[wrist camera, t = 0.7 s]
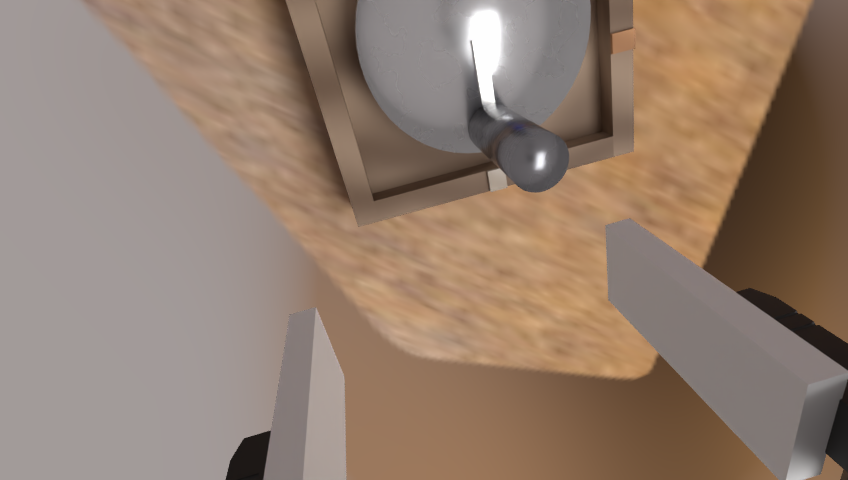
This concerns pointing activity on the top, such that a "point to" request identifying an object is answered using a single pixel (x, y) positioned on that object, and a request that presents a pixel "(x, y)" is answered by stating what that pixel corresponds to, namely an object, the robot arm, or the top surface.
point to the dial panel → (441, 170)
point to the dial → (477, 75)
